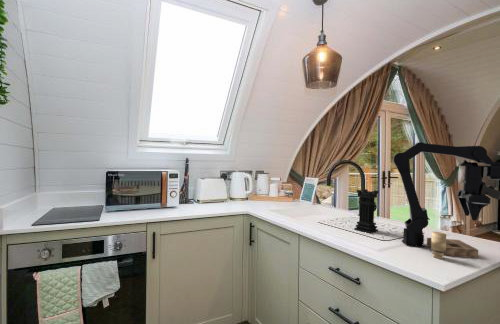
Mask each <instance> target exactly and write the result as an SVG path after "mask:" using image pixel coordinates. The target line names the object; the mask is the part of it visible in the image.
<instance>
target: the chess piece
mask: <svg viewBox="0 0 500 324" xmlns="http://www.w3.org/2000/svg"><path fill="white" fill-rule="evenodd" d="M356 193H357V197H359V201H358V204H359V217H358V219H359V221H356V224H355V227H354V229H353V230H354V231H357V232H358V231H359V232H361V233H365V232H366V233H365V234H368V233H370V234H373V232H374V233H377V232H379V229H378V225H377V222H375V204H376V202H375V199H376V198H377V197H378V194H379V190H373V191H370V190H368V189H365V188H364V189H362V190H361V189H357V190H356ZM376 231H377V232H376Z"/></svg>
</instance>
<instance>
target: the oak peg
mask: <svg viewBox="0 0 500 324" xmlns="http://www.w3.org/2000/svg"><path fill="white" fill-rule="evenodd" d="M430 238H431V247H430V250H431V251H432V254H433V256H432V257H433V258H435V259H437V260H443V257H444V256H445V255H444V253H445V252H446V239H447V233H444V232H440V231H431V237H430Z"/></svg>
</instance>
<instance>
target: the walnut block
mask: <svg viewBox="0 0 500 324" xmlns="http://www.w3.org/2000/svg"><path fill="white" fill-rule="evenodd" d="M431 238H432V237H426V246H428V247H430V248H431ZM444 256H448V257H450V256H451V257H463V258H475V259H478V258H479V249H478V248H476V247H474V246H471V245H470V244H468V243H466V242H464V241H462V240H460V239H455V238H454V239H451V238H450V239H449V238H446V252H445V253H444Z"/></svg>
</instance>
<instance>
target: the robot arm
mask: <svg viewBox="0 0 500 324" xmlns="http://www.w3.org/2000/svg"><path fill="white" fill-rule="evenodd" d="M420 153H429V154H437V155H445V156H452V157H457V158H460V159H464V160H463V161H461V162H460V163H458V164H457V165H458V166H459V167H464V173H463V174H464V175H463V179H462V181H461V183H463V188H462V189H458V190H456V194H455V195H456V199H457V200H458V201H459V204H460V206H461V209H462V212H463V214H464V216H465V217H466V216H467V217H469V216H470V218H471V220H472V221H474V222H475V221H477V220H478V219H479V218H478V217H479V215H480V213H481V211H482V209H483V208H485V207H487V206H489V205H491V199H492V198H493V199H495V200H498V201H499V200H500V190H498V189H495V188H496V187H495V186H492V185H490V184H488V185H486V184H487V183H486V182H485V181H484V177H486V178H487V179H488V180H493V181H494V180H495V181H496V180H497V181H500V162H496V161H493V160H492V158H490V156H489V155H488V151H487V149H486V148H485V147H484V146H482V145H465V146H464V145H463V146H454V145H443V144H436V143H426V142H417V143H415V144H414V145H412V146H411V147H409V148H408V149H406V150H404V151H403V152H398V153H396V154H394V156H393V158H392V161H393V164H394V166H395V168H396V169H397V172H398V173H399V175H400V177H401V181H402V184H403V188H404V192H405V195H406V199H407V202H408V205H409V218H408V219H407V220H406V221H404V225H405V227H406V228H405V227H404V228H403V238H402V240H401V242H402V243H403V244H404V245H406V246H408V247H419V248H425V245H424V240H425V236H424V234H423V233H424V231H423V229H425V228H427V227H428V225H429V221H430V220H431V219H430V218H429V216H428V210H427V209H426V208H425V207H422V206H421V205H420V201H419V197H418V195H417V192H416V189H415V184H414V181H413V178H412V175H411V163H410V160H411V159H413V158H414V157H416V156H417V155H419V154H420ZM467 160H468V161H469V162H468V161H467ZM471 161H472V162H471ZM478 163H479V164H483V165H479V164H478ZM484 164H485V165H484Z"/></svg>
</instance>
